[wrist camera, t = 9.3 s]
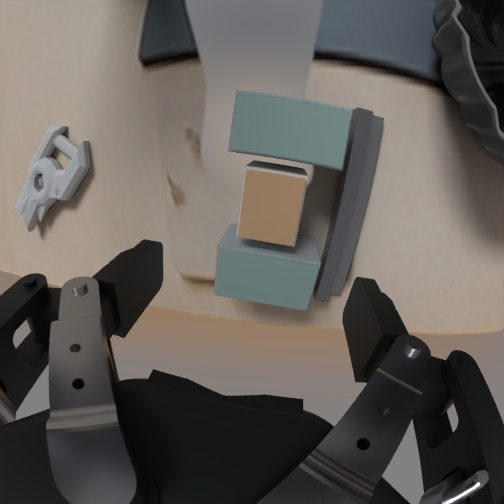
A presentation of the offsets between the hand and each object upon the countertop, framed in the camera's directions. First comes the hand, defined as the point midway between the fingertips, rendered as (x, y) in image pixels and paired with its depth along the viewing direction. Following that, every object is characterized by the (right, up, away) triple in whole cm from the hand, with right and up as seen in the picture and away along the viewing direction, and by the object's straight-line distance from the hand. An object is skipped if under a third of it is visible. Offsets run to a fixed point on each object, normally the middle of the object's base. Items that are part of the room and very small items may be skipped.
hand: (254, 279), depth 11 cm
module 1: (+4, +13, +13) cm, 19 cm away
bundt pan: (+30, +23, +6) cm, 38 cm away
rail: (+9, +6, +16) cm, 19 cm away
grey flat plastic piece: (-28, +11, +19) cm, 36 cm away
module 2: (+2, +7, +16) cm, 18 cm away
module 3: (+2, +1, +19) cm, 19 cm away
